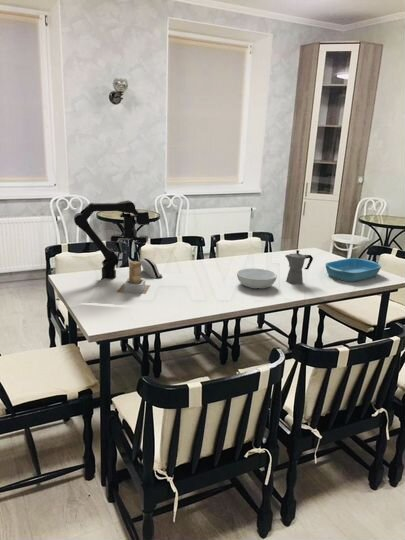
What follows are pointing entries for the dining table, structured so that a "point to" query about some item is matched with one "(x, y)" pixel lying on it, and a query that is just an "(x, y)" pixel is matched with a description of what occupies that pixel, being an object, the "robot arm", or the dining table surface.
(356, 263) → the casserole dish
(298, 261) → the coffeepot
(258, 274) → the serving bowl
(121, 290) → the walnut board
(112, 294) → the dining table surface
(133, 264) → the oak block
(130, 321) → the dining table surface
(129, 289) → the steel end cap
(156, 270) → the grey napkin holder
